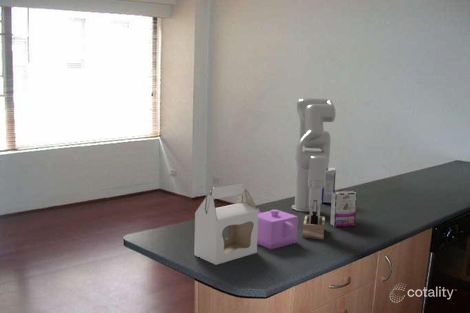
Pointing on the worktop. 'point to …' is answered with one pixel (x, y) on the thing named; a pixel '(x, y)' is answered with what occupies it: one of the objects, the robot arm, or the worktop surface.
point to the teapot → (276, 229)
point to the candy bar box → (343, 208)
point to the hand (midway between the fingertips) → (314, 222)
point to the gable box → (216, 219)
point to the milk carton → (328, 185)
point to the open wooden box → (313, 229)
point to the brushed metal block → (316, 214)
